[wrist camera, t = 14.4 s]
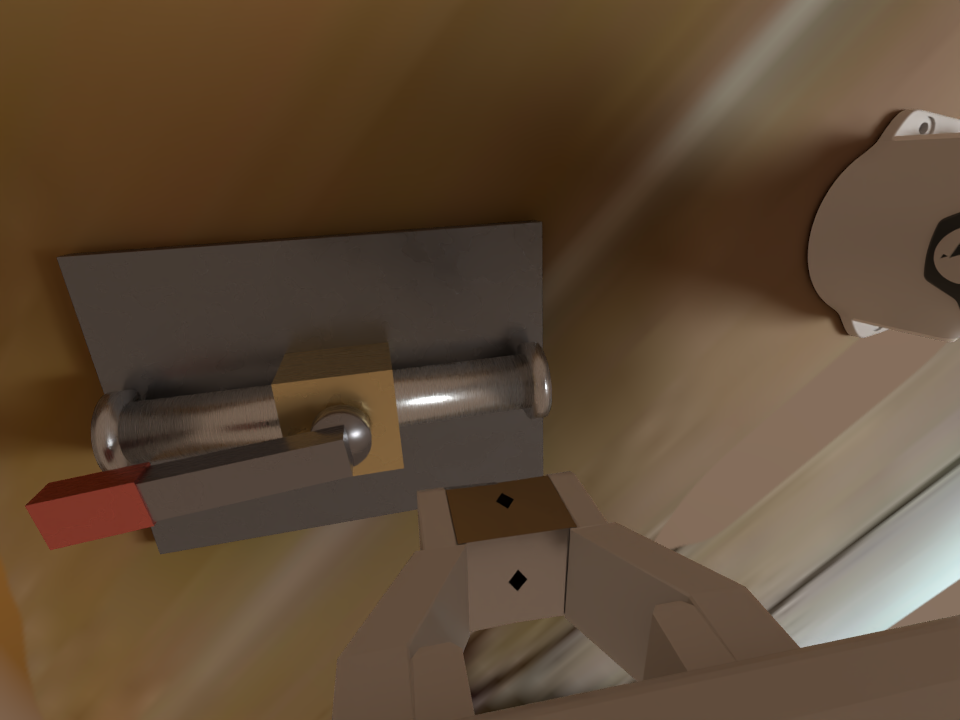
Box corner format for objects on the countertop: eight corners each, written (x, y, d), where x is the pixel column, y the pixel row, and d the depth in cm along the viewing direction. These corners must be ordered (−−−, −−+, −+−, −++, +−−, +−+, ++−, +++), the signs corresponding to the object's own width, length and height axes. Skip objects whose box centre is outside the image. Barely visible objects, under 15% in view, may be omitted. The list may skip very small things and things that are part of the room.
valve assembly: (535, 220, 36) (573, 229, 29) (537, 477, 44) (568, 530, 37) (70, 253, 31) (-11, 274, 24) (167, 540, 38) (126, 616, 32)
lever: (364, 398, 30) (364, 425, 27) (376, 449, 31) (378, 480, 28) (61, 461, 28) (21, 499, 24) (88, 514, 29) (53, 556, 26)
